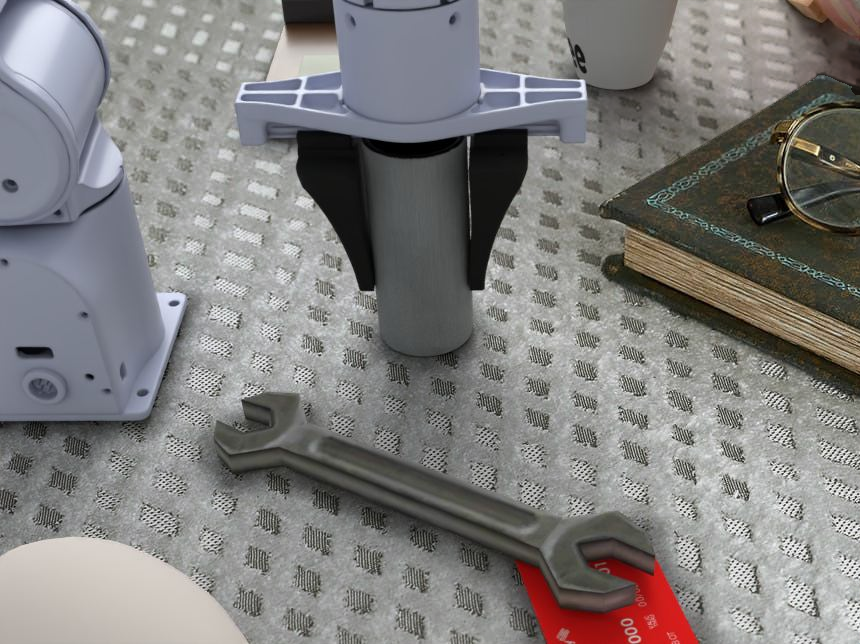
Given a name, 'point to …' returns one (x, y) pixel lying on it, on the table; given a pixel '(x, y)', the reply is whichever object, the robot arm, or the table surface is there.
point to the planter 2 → (833, 13)
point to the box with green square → (306, 40)
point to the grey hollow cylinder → (420, 242)
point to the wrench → (445, 503)
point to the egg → (103, 597)
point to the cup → (617, 39)
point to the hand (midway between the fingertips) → (423, 279)
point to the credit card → (617, 630)
